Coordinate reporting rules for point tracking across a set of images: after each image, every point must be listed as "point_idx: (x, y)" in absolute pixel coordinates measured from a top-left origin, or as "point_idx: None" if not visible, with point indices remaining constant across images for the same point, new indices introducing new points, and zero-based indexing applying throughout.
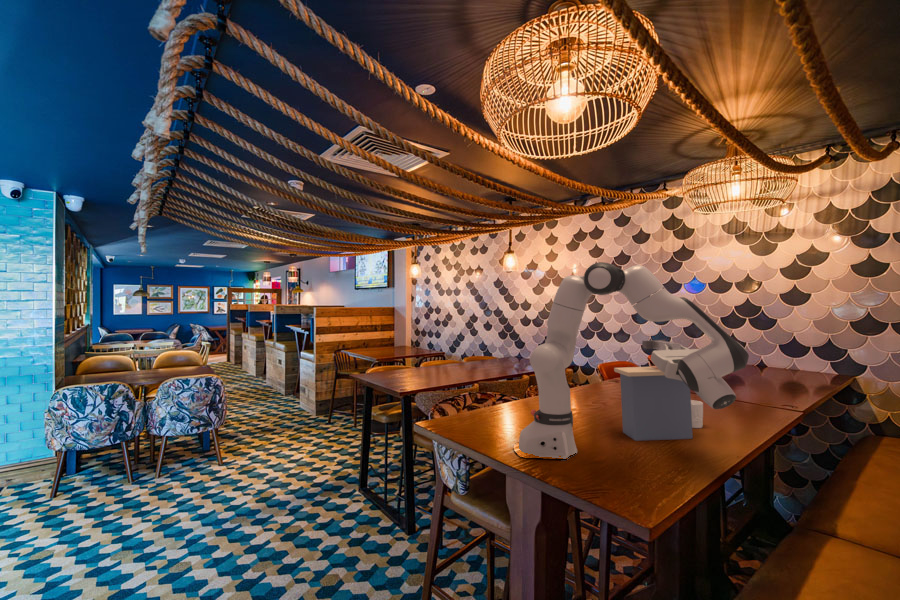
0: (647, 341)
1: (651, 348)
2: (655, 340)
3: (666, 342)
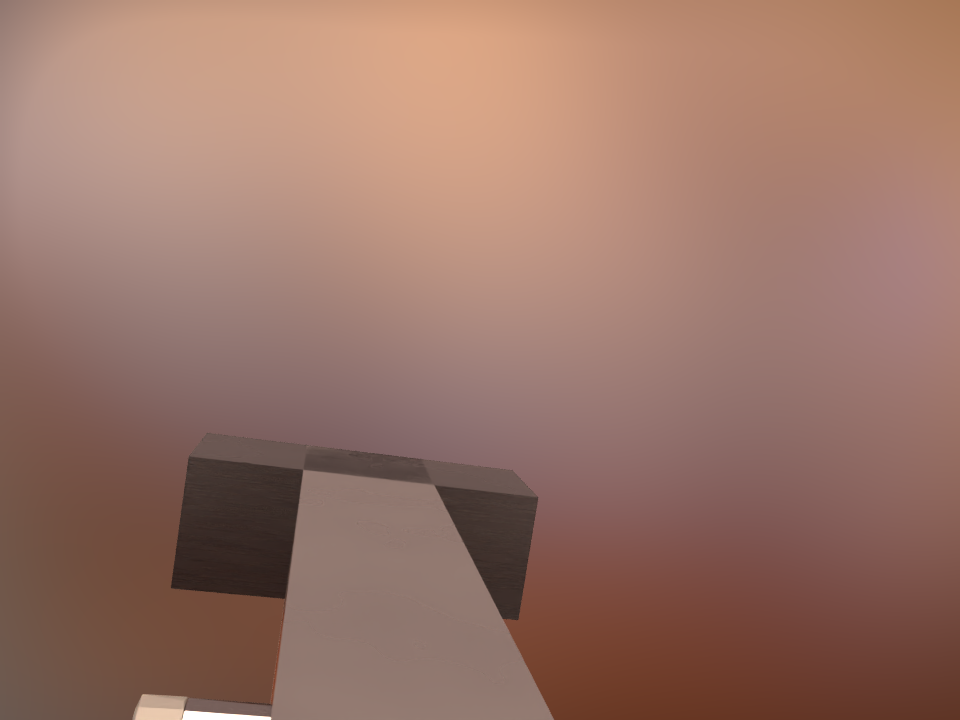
0: (211, 463)
1: (259, 592)
2: (396, 464)
3: (355, 596)
